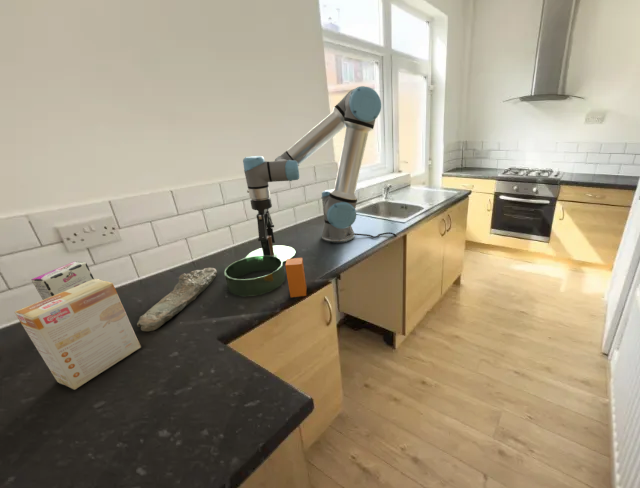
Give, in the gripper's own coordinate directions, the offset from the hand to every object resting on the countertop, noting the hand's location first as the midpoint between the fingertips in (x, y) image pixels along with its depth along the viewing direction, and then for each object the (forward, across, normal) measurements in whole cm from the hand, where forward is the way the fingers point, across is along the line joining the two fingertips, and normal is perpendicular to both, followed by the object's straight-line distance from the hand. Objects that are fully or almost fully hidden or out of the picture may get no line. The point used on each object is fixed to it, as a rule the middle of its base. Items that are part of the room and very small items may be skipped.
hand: (269, 248), depth 131 cm
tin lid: (+3, 0, 0) cm, 3 cm away
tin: (+4, +22, -2) cm, 22 cm away
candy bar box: (+4, +33, -50) cm, 60 cm away
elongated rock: (+4, +28, -24) cm, 37 cm away
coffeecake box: (+4, +56, -33) cm, 65 cm away
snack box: (+4, +33, +13) cm, 36 cm away
